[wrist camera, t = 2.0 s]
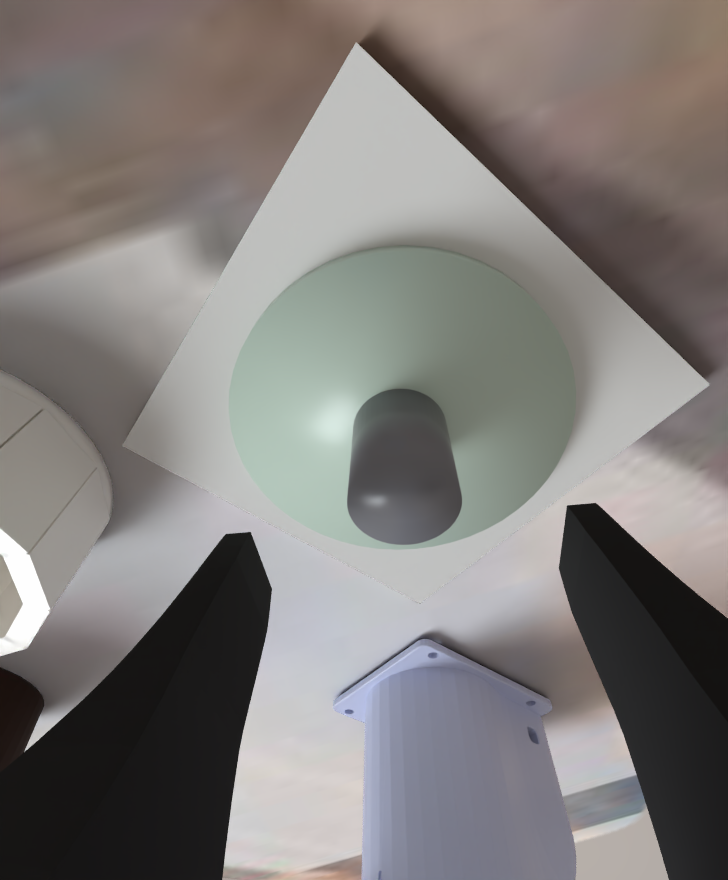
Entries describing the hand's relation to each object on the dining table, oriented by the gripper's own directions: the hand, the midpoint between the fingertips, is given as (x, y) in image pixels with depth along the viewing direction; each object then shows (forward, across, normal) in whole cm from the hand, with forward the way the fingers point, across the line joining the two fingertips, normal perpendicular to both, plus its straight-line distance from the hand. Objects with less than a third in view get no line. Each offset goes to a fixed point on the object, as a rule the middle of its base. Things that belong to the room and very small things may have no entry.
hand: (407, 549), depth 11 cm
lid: (+6, 0, 0) cm, 6 cm away
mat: (+6, 0, 0) cm, 7 cm away
